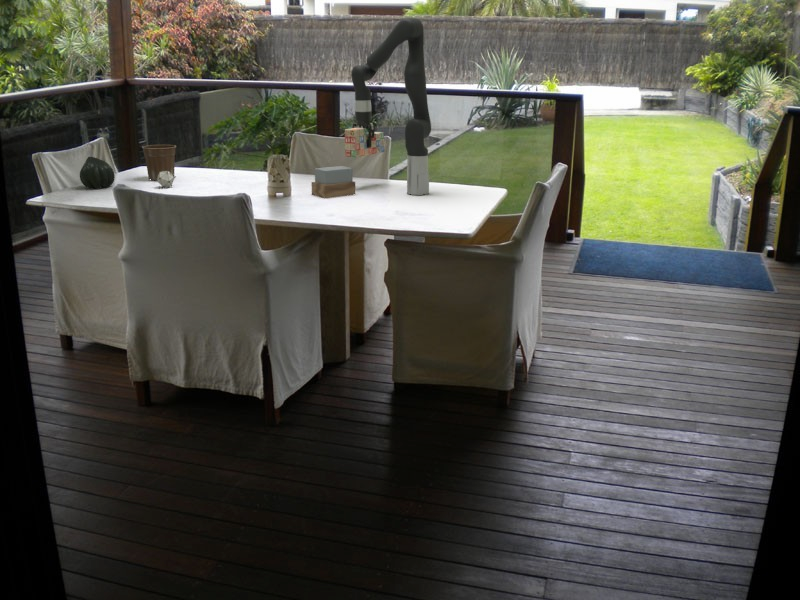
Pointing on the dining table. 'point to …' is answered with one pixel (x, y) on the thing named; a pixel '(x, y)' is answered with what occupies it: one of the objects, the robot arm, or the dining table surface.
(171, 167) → the plant pot
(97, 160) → the squash
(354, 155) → the stack of blocks
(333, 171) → the tower top block
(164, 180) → the game die
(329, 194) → the tower base block
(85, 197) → the dining table surface
